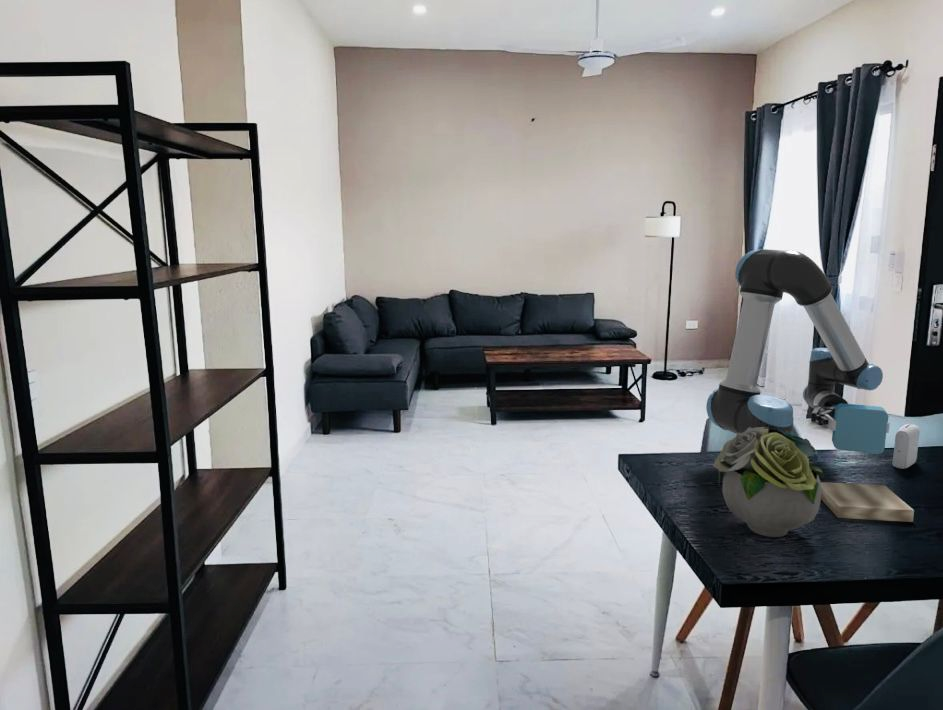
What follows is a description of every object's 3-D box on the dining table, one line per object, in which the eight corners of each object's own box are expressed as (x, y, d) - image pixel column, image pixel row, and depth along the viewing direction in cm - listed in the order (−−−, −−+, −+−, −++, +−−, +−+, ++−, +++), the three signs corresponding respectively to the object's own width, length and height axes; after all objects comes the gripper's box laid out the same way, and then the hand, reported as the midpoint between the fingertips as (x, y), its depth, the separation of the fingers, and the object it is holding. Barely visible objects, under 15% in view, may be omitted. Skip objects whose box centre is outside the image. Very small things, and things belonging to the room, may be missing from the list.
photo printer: (906, 470, 200) (911, 429, 197) (889, 466, 203) (894, 426, 201) (918, 462, 206) (922, 423, 204) (902, 458, 209) (906, 420, 207)
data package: (880, 449, 184) (886, 407, 181) (883, 454, 180) (889, 411, 177) (831, 444, 188) (835, 402, 186) (832, 449, 184) (837, 406, 182)
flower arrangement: (695, 510, 172) (701, 417, 167) (791, 507, 173) (799, 415, 169) (739, 556, 147) (747, 449, 143) (850, 553, 149) (862, 446, 144)
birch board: (837, 517, 167) (839, 506, 166) (815, 492, 183) (816, 481, 182) (912, 522, 164) (914, 510, 164) (883, 495, 180) (884, 485, 180)
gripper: (874, 420, 202) (908, 442, 181) (786, 416, 205) (810, 438, 184) (877, 395, 200) (912, 415, 179) (788, 392, 204) (813, 411, 183)
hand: (860, 426), depth 182 cm, fingers closed on data package, 13 cm apart
